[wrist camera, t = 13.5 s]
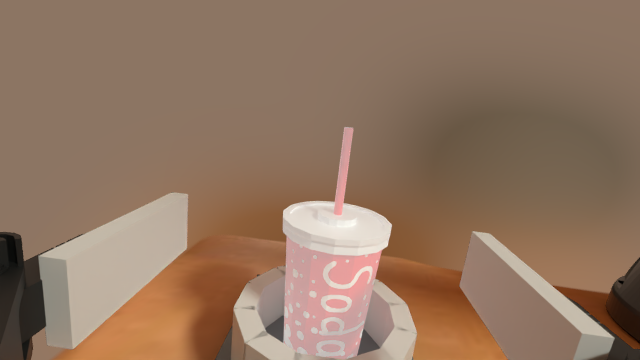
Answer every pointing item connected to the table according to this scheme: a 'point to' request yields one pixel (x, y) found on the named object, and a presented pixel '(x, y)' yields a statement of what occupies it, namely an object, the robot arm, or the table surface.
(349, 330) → the beverage cup
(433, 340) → the table surface
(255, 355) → the cup holder
